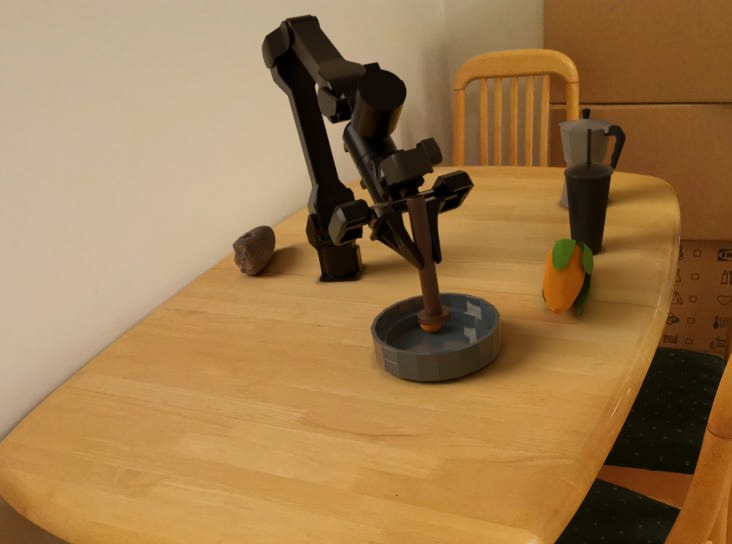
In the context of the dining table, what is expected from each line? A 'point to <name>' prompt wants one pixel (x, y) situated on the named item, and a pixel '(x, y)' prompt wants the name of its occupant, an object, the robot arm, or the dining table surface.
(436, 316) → the stirring stick
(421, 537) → the dining table surface
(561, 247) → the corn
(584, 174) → the drinking cup
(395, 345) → the bowl
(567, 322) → the dining table surface
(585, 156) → the coffeepot
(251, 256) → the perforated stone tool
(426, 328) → the ball
